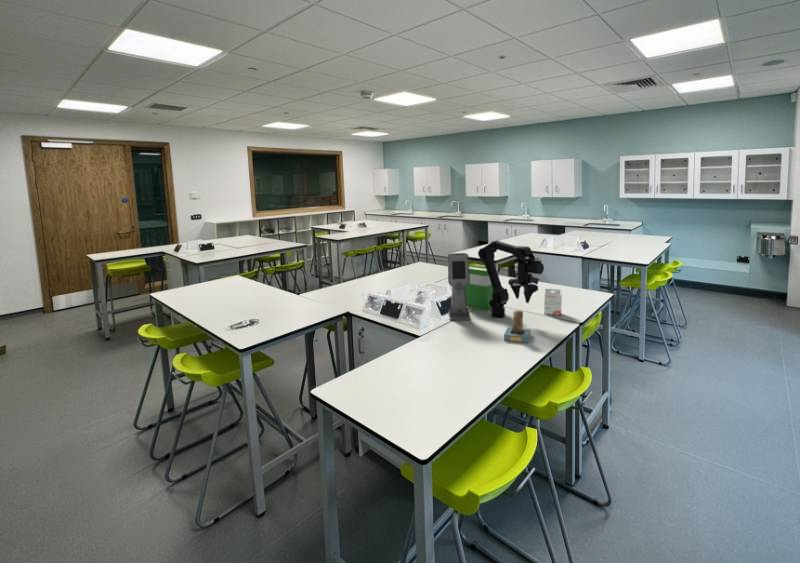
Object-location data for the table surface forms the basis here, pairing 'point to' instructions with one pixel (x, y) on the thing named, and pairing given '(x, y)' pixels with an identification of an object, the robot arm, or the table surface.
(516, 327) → the walnut peg
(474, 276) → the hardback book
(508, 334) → the socket block
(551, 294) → the ink cartridge box
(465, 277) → the thermal camera
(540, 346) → the table surface
